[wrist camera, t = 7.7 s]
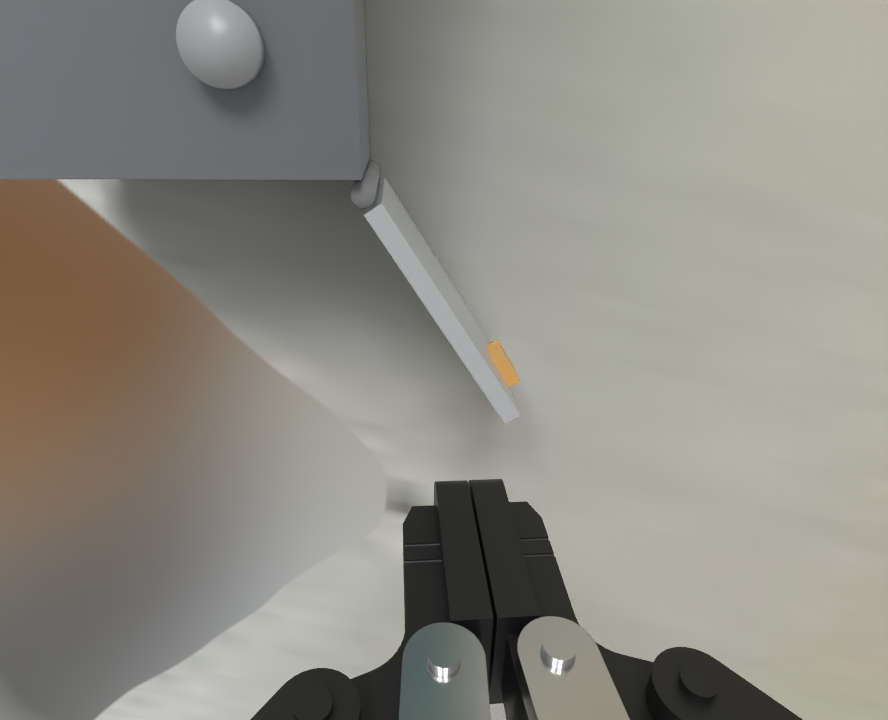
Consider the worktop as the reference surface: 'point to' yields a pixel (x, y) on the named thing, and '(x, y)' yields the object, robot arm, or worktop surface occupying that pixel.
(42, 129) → the grey knobbed box
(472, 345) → the side door
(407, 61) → the worktop surface
